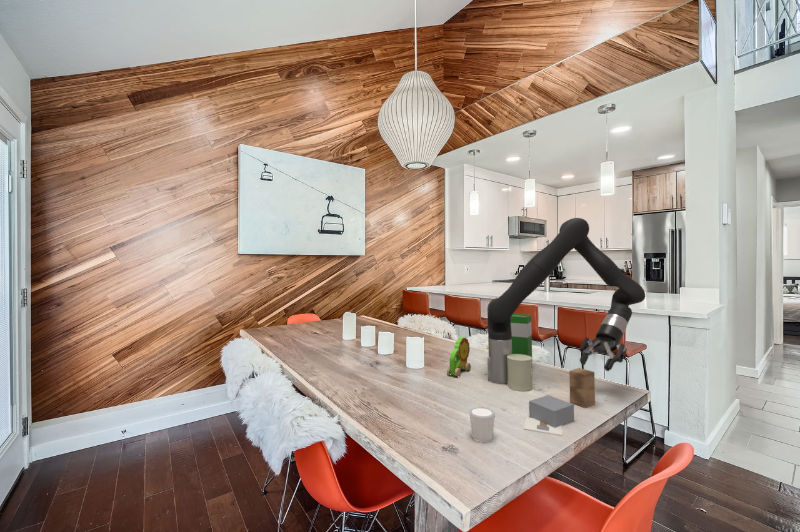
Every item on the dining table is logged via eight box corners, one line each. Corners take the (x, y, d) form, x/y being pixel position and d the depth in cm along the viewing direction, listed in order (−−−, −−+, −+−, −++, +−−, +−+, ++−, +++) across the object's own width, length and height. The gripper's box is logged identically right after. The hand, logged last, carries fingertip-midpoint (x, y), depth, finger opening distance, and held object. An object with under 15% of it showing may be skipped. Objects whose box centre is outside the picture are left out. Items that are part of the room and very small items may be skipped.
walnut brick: (570, 403, 119) (569, 370, 119) (579, 399, 122) (579, 367, 122) (585, 408, 115) (584, 374, 114) (595, 404, 117) (594, 372, 117)
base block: (529, 416, 109) (529, 400, 109) (548, 410, 114) (548, 394, 114) (554, 428, 102) (554, 411, 101) (574, 420, 106) (573, 404, 106)
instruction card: (523, 429, 102) (523, 428, 102) (526, 417, 109) (526, 417, 109) (561, 435, 97) (561, 434, 97) (562, 423, 105) (562, 422, 105)
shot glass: (466, 431, 101) (466, 407, 101) (490, 430, 101) (489, 406, 101) (473, 444, 94) (473, 417, 94) (498, 442, 95) (498, 416, 95)
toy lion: (457, 378, 147) (456, 342, 146) (446, 376, 150) (445, 340, 150) (473, 368, 159) (472, 335, 159) (462, 367, 163) (461, 334, 162)
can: (514, 381, 142) (513, 351, 142) (536, 386, 135) (536, 355, 135) (502, 387, 135) (502, 356, 135) (525, 393, 129) (525, 360, 129)
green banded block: (488, 366, 163) (487, 314, 163) (494, 362, 169) (493, 312, 169) (528, 372, 153) (527, 317, 153) (532, 367, 159) (531, 314, 159)
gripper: (588, 320, 132) (569, 355, 126) (628, 325, 120) (610, 365, 114) (597, 332, 135) (579, 367, 129) (637, 339, 122) (619, 378, 117)
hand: (593, 366), depth 122 cm, fingers open, 8 cm apart
